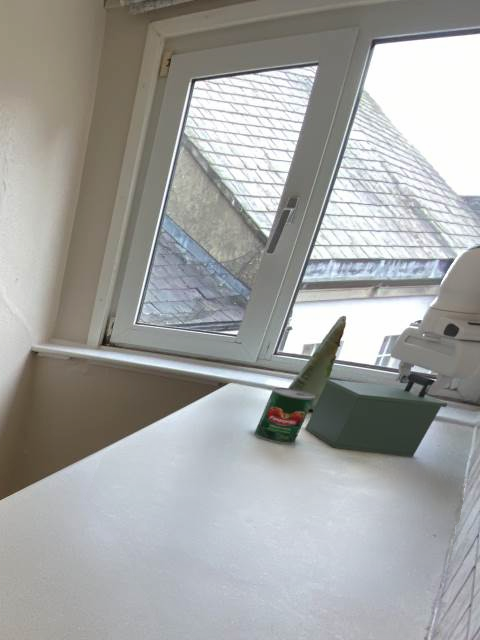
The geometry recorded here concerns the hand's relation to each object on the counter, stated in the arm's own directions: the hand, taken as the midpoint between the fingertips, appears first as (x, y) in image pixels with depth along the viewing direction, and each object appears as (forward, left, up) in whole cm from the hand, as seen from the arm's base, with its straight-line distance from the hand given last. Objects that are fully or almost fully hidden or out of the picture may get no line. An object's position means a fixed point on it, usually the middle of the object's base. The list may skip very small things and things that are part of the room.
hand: (415, 388), depth 122 cm
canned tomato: (+25, +4, -14) cm, 29 cm away
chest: (+6, 0, -14) cm, 15 cm away
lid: (+5, 0, -2) cm, 6 cm away
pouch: (+5, -27, -14) cm, 31 cm away
